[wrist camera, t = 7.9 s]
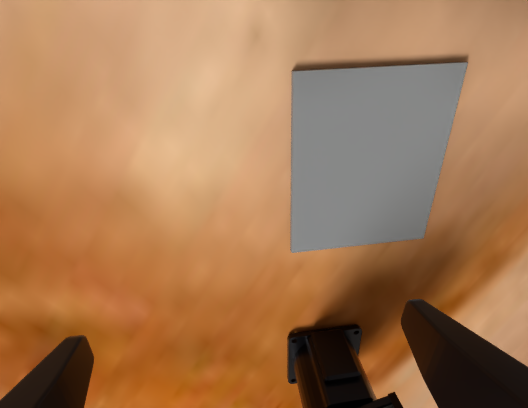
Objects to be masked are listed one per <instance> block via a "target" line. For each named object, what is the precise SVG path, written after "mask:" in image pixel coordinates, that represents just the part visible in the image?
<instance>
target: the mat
mask: <svg viewBox="0 0 528 408" xmlns="http://www.w3.org/2000/svg"><path fill="white" fill-rule="evenodd" d="M467 64H468V62H452V63H432V64H413V65H394V66H375V67H356V68H336V69H317V70H298V71H292V118H291V252H292V253H295V252H304V251H313V250H322V249H331V248H340V247H350V246H359V245H368V244H377V243H386V242H395V241H404V240H413V239H422V238H424V234H425V230H426V226H427V222H428V218H429V214H430V211H431V207H432V203H433V199H434V195H435V191H436V187H437V183H438V179H439V175H440V171H441V167H442V163H443V159H444V155H445V151H446V147H447V143H448V139H449V135H450V132H451V128H452V124H453V120H454V116H455V112H456V108H457V104H458V100H459V96H460V92H461V88H462V84H463V80H464V76H465V72H466V68H467Z"/></svg>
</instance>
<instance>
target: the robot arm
mask: <svg viewBox="0 0 528 408" xmlns="http://www.w3.org/2000/svg"><path fill="white" fill-rule="evenodd" d="M401 325H402V329H403V331H404V334H405V336H406V338H407V341H408V343H409V346H410V348H411V350H412V353H413V355H414V358H415V360H416V363H417V365H418V367H419V370H420V372H421V374H422V377H423V379H424V381H425V383H426V385H427V387H428V389H429V391H430V393H431V394H432V396H433V398H434V400H435V402H436V404H437V406H438V408H528V367H527V366H526V365H524V364H522V363H521V362H519V361H518V360H516V359H515V358H513V357H511V356H510V355H508V354H507V353H505V352H504V351H502V350H501V349H499V348H497V347H496V346H494V345H493V344H491V343H490V342H488V341H486V340H485V339H483V338H482V337H480V336H479V335H477V334H476V333H474V332H472V331H471V330H469V329H468V328H466V327H465V326H463V325H461V324H460V323H458V322H457V321H455V320H454V319H452V318H451V317H449V316H447V315H446V314H444V313H443V312H441V311H440V310H438V309H436V308H435V307H433V306H432V305H430V304H429V303H427V302H426V301H424V300H422V299H414V300H408V301H407V302H406V304H405V307H404V311H403V314H402V318H401ZM361 335H362V330H361V328H360V326H359V325H351V326H344V327H336V328H329V329H321V330H314V331H307V332H299V333H293V334H290V335H289V336H288V338H287V378H288V382H289V383H290V384H295V383H297V384H298V389H299V393H300V397H301V402H302V406H303V408H403V407H402V405H401V403H400V401H399V399H398V397H397V395H396V394H395V392H393V393H390V394H388V396H386V397H383V398H380V399H376V396H375V394H374V392H373V390H372V387H371V385H370V383H369V380H368V378H367V376H366V374H365V371H364V369H363V367H362V364H361V362H360V360H359V358H358V352H359V346H360V340H361ZM93 363H94V356H93V353H92V350H91V348H90V345H89V343H88V340H87V338H86V337H85V336H84V335H78V336H70V337H67V338H66V339H64V340H63V341H62V342H61V343H60V344H59V345H58V346H57V347H56V348H55V349H54V350H53V351H52V352H51V353H50V354H48V355H47V356H46V357H45V358H44V359H43V360H42V361H41V362H40V363H39V364H38V365H37V366H36V367H35V368H34V369H33V370H32V371H31V372H30V373H28V374H27V375H26V376H25V377H24V378H23V379H22V380H21V381H20V382H19V383H18V384H17V385H16V386H15V387H14V388H13V389H12V390H11V391H10V392H8V393H7V394H6V395H5V396H4V397H3V398H2V399H1V400H0V408H84V405H85V401H86V396H87V391H88V387H89V382H90V378H91V373H92V368H93Z"/></svg>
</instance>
